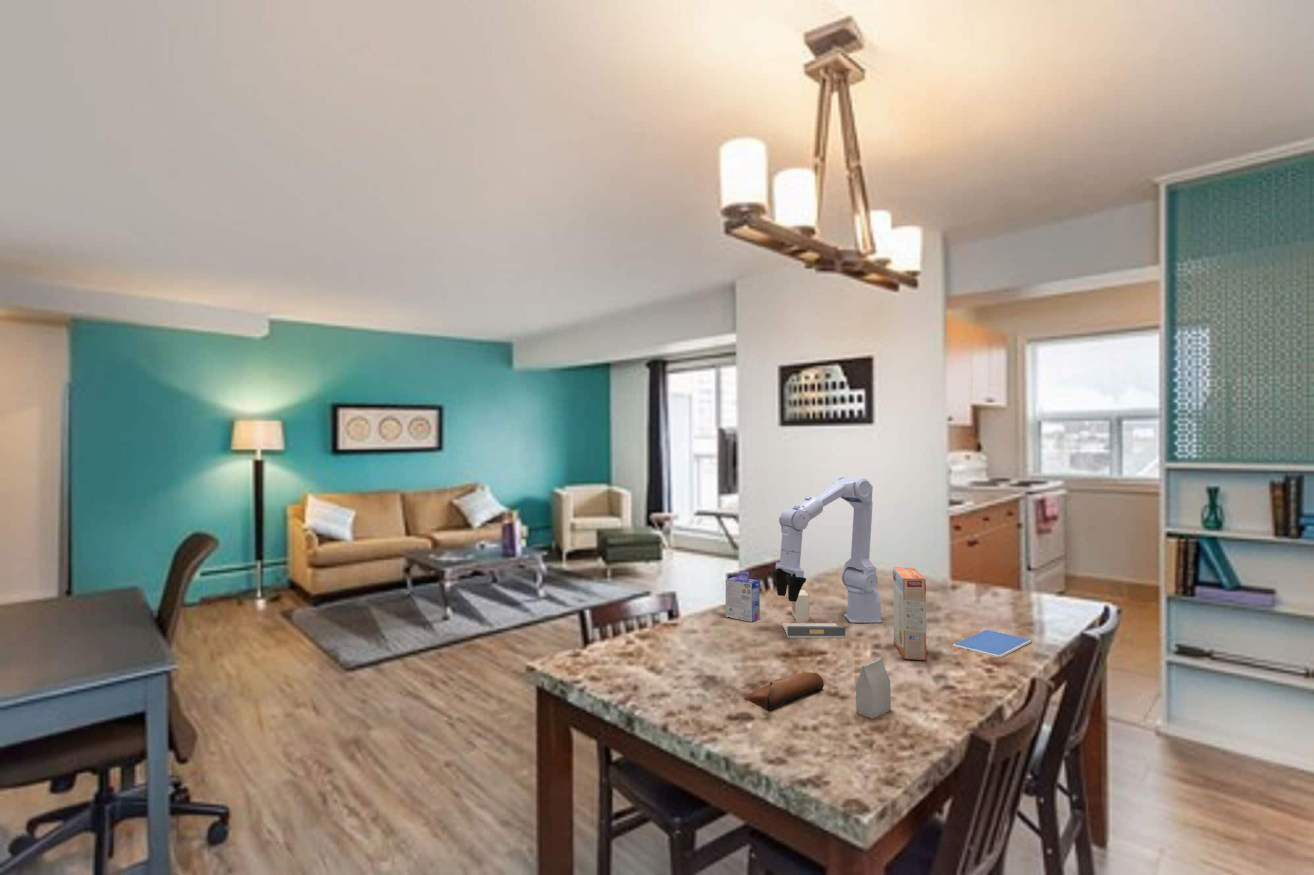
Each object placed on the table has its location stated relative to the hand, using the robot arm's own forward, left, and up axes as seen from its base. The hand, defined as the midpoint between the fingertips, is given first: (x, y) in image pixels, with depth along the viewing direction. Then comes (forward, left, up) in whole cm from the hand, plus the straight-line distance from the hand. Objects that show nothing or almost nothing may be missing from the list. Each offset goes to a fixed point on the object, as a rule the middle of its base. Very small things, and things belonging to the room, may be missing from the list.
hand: (786, 598), depth 178 cm
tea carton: (-7, -17, -11) cm, 21 cm away
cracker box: (-30, +14, -11) cm, 35 cm away
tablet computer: (-54, +8, -11) cm, 55 cm away
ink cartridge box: (+11, -17, -11) cm, 23 cm away
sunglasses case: (+7, +41, -11) cm, 44 cm away
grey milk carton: (-10, +50, -11) cm, 52 cm away
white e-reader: (-8, -3, -11) cm, 14 cm away
